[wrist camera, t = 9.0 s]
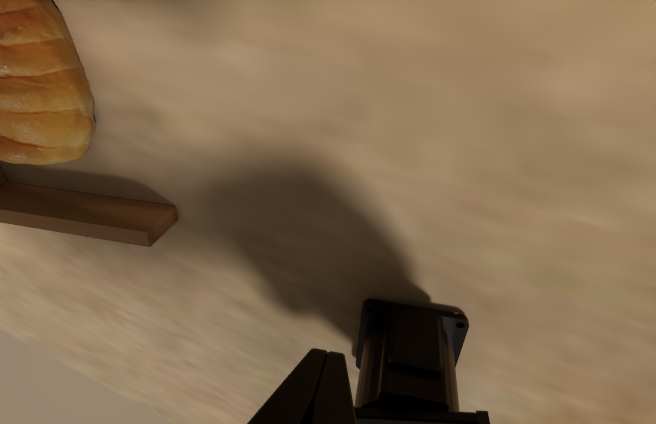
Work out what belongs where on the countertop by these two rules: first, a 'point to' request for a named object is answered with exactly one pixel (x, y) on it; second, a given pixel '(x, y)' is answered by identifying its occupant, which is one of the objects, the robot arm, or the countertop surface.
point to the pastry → (41, 87)
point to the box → (84, 213)
